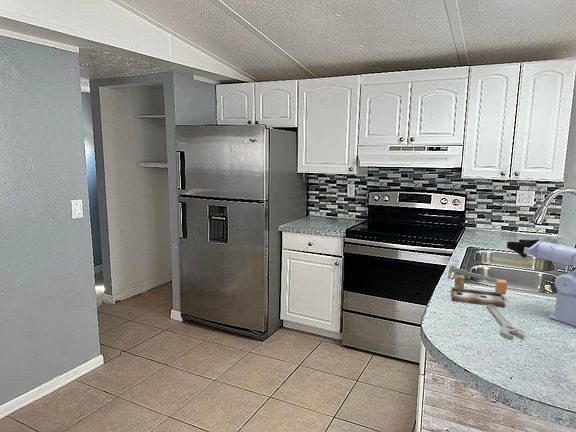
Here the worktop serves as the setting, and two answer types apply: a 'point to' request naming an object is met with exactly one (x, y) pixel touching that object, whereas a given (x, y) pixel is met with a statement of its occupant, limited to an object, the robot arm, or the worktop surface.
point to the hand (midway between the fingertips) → (513, 243)
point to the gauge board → (474, 294)
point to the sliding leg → (501, 287)
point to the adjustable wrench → (505, 324)
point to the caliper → (468, 274)
